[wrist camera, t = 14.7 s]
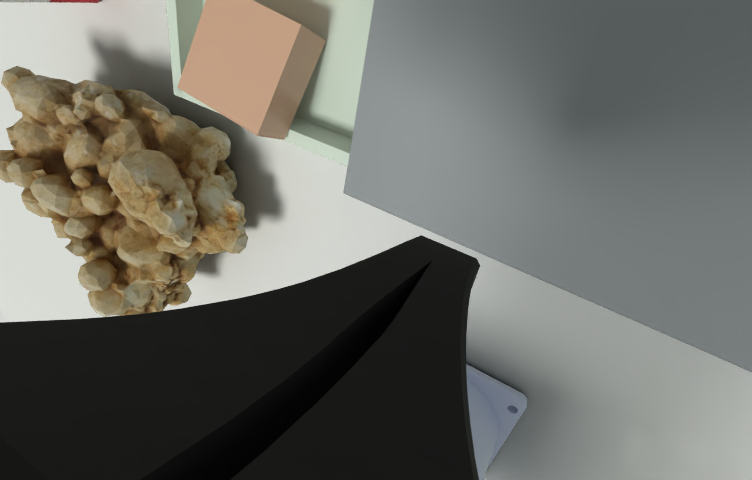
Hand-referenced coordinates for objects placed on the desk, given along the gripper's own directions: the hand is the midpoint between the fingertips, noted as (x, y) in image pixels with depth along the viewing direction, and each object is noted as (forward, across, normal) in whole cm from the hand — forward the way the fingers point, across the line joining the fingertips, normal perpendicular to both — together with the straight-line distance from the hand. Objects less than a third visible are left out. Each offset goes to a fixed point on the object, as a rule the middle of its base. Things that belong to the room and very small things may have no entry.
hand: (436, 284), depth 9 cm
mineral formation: (+10, +20, +8) cm, 24 cm away
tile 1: (+8, +12, -1) cm, 14 cm away
